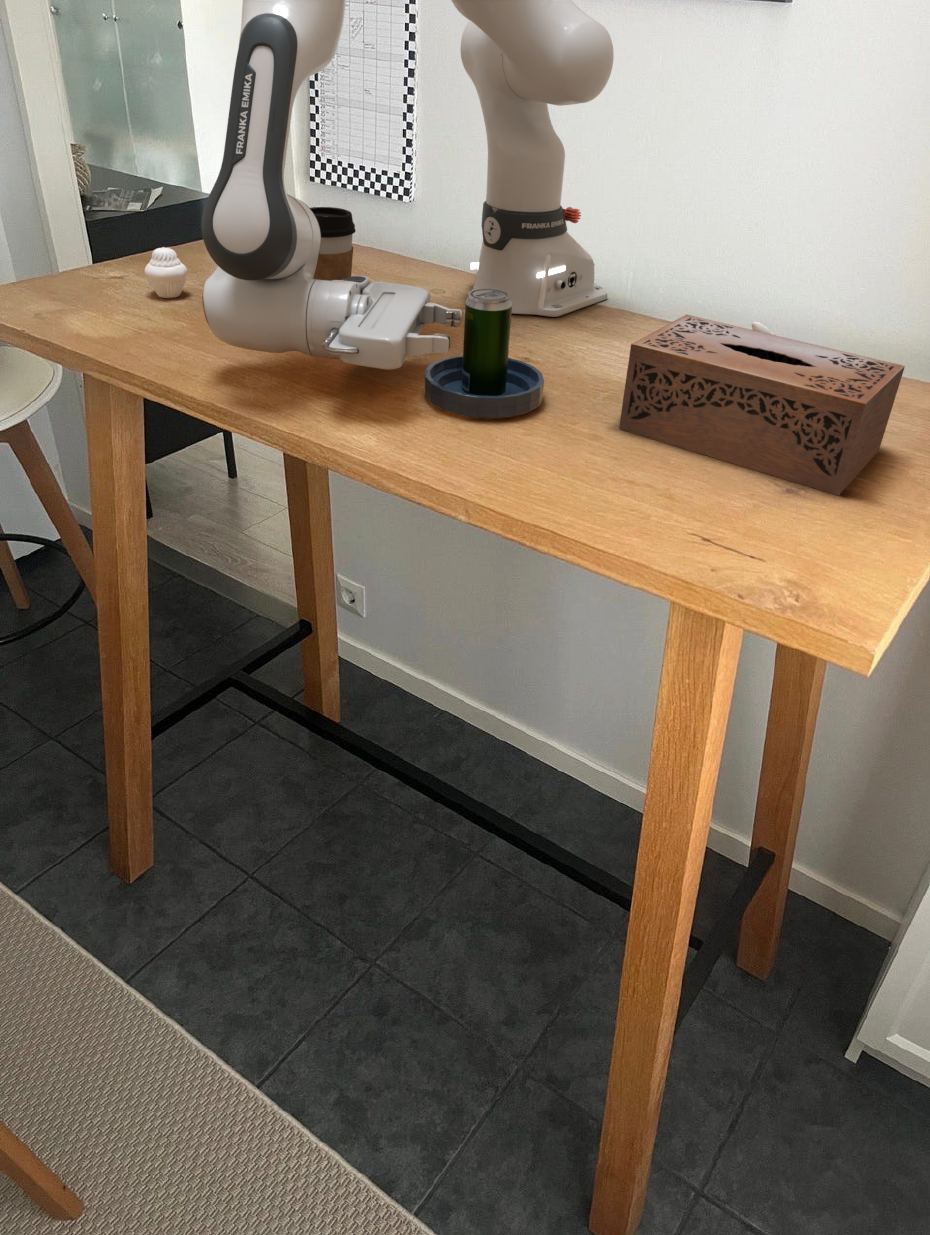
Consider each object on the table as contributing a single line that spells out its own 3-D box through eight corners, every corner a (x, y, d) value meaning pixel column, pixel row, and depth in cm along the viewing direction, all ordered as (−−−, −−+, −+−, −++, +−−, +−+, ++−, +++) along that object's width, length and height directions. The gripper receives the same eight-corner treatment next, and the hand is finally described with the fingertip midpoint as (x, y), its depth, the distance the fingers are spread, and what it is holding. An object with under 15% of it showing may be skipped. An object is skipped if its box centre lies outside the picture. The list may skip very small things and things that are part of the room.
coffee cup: (286, 323, 139) (280, 211, 131) (316, 307, 146) (312, 200, 137) (339, 333, 137) (336, 219, 128) (367, 316, 143) (366, 207, 135)
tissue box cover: (878, 451, 112) (905, 366, 106) (838, 495, 102) (865, 404, 96) (672, 393, 124) (686, 314, 118) (618, 428, 114) (631, 343, 108)
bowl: (489, 369, 128) (491, 347, 126) (565, 405, 119) (568, 381, 117) (401, 391, 120) (401, 368, 118) (474, 431, 111) (476, 406, 109)
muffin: (198, 294, 148) (193, 246, 144) (168, 303, 144) (162, 254, 140) (169, 286, 151) (163, 239, 147) (138, 295, 147) (131, 246, 143)
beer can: (477, 406, 116) (483, 304, 109) (452, 391, 120) (456, 291, 113) (514, 398, 119) (521, 298, 112) (488, 383, 122) (495, 285, 115)
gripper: (316, 321, 106) (442, 332, 105) (359, 271, 123) (468, 280, 122) (318, 377, 110) (440, 389, 109) (360, 321, 127) (466, 330, 125)
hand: (455, 331), depth 115 cm, fingers open, 8 cm apart
